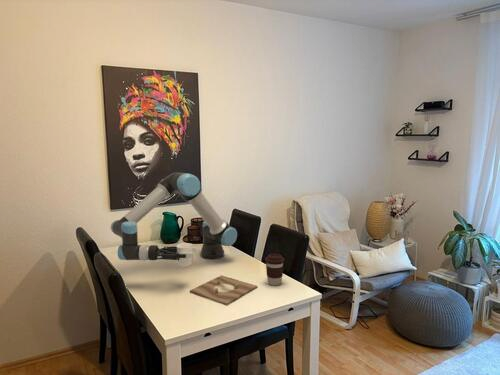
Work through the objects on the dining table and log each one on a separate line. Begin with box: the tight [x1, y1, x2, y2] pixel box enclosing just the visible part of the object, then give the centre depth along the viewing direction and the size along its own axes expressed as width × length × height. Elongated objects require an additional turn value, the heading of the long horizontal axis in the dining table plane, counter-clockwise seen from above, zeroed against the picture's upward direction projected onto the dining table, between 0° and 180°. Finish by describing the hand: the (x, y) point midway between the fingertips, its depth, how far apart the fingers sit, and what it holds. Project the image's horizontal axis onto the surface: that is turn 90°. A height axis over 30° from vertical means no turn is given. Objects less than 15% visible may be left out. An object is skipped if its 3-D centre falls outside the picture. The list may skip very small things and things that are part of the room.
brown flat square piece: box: [189, 275, 258, 306], centre depth 187 cm, size 24×24×3 cm
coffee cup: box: [264, 253, 285, 287], centre depth 194 cm, size 10×10×15 cm
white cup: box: [176, 242, 193, 267], centre depth 189 cm, size 8×8×10 cm
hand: (194, 252), depth 189 cm, fingers closed on white cup, 8 cm apart
